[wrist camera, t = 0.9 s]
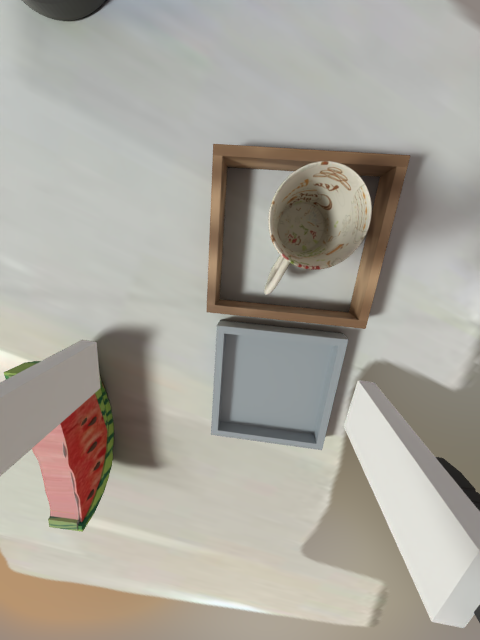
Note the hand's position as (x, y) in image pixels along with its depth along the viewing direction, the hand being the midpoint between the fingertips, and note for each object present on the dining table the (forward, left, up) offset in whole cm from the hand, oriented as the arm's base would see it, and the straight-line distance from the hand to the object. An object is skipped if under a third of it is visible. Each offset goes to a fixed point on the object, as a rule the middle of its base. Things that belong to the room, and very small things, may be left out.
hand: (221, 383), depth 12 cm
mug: (-7, +5, -22) cm, 23 cm away
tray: (+13, +5, -21) cm, 25 cm away
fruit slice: (+23, -24, -22) cm, 39 cm away
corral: (-7, +5, -21) cm, 23 cm away
